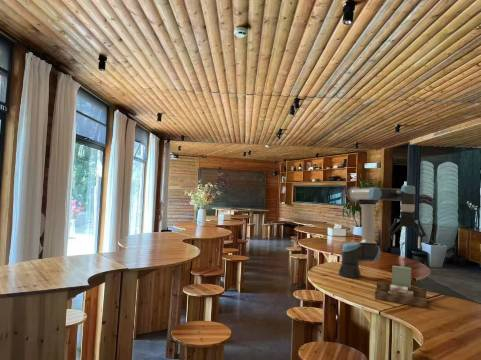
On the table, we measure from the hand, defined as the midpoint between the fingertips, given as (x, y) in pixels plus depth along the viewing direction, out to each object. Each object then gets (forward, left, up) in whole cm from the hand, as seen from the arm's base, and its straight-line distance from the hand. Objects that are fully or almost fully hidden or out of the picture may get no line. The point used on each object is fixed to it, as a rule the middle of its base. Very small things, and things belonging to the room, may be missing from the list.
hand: (406, 246), depth 204 cm
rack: (-2, -10, -29) cm, 31 cm away
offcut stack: (-2, -12, -27) cm, 30 cm away
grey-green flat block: (-2, -5, -27) cm, 28 cm away
